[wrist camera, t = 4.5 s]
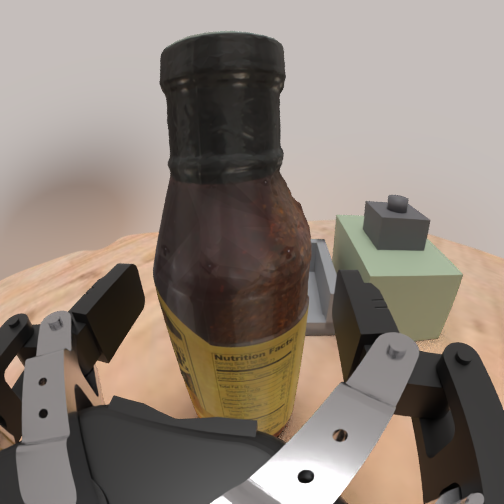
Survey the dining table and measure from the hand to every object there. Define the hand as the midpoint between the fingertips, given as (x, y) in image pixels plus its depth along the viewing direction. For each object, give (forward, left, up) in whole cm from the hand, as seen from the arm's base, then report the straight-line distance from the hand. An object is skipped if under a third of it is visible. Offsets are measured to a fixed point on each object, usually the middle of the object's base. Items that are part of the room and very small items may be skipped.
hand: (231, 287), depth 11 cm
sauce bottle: (0, +1, -11) cm, 11 cm away
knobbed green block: (+7, +15, -11) cm, 20 cm away
